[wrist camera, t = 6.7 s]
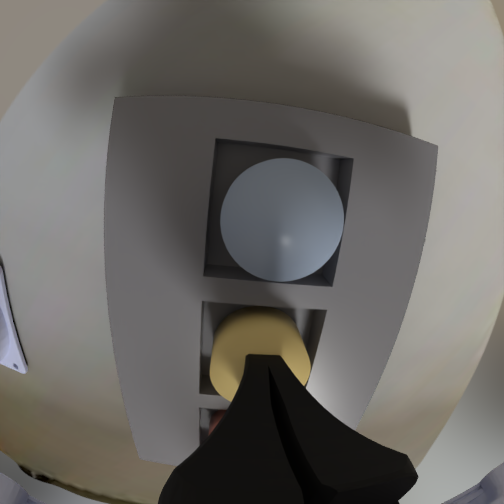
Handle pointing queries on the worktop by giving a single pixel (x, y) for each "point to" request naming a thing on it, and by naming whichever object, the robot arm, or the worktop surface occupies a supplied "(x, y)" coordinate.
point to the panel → (231, 273)
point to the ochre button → (255, 346)
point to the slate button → (282, 219)
